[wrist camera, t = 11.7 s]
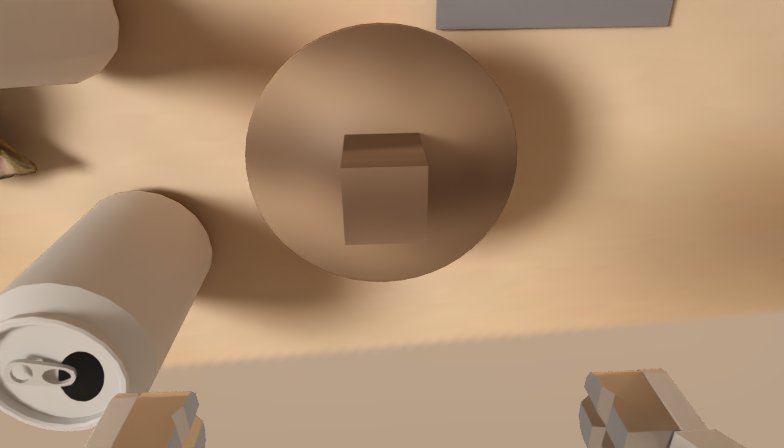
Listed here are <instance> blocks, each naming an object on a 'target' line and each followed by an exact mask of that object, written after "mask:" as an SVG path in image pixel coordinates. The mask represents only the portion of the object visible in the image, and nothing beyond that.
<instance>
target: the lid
mask: <svg viewBox="0 0 784 448" xmlns="http://www.w3.org/2000/svg"><path fill="white" fill-rule="evenodd" d="M245 158H246V171H247V176H248V181H249V185H250V189H251V192H252V195H253V197H254V200H255V203H256V205H257V207H258V209H259V211H260V213H261V215H262V217H263V218H264V220H265V221H266V223H267V224H268V225H269V227H270V228H271V230H272V231H273V232H274V233H275V235H276V236H277V237H278V238H279V239H280V240H281V241H282V242H283V243H284V244H285V245H286V246H287V247H288V248H290V249H291V250H292V251H293V252H294V253H295V254H297V255H298V256H300V257H301V258H303V259H304V260H306V261H307V262H309V263H311V264H313V265H315V266H316V267H318V268H320V269H322V270H325V271H327V272H330V273H333V274H336V275H338V276H342V277H346V278H350V279H355V280H362V281H373V282H388V281H399V280H405V279H410V278H415V277H419V276H422V275H425V274H428V273H431V272H433V271H436V270H438V269H440V268H442V267H445V266H447V265H448V264H450V263H452V262H453V261H455V260H457V259H458V258H460V257H461V256H463V255H464V254H465V253H467V252H468V251H469V250H471V249H472V248H473V247H474V246H475V245H476V244H477V243H478V242H479V241H480V240H481V239H482V238H483V237H484V236H485V235H486V234H487V232H488V231H489V230H490V229H491V227H492V226H493V225H494V223H495V222H496V220H497V219H498V217H499V215H500V214H501V212H502V210H503V208H504V206H505V204H506V202H507V200H508V197H509V195H510V191H511V188H512V185H513V182H514V176H515V170H516V163H517V144H516V134H515V129H514V125H513V121H512V117H511V114H510V111H509V109H508V106H507V104H506V101H505V99H504V97H503V95H502V94H501V92H500V90H499V89H498V87H497V85H496V83H495V82H494V81H493V80H492V78H491V77H490V76H489V75H488V73H487V72H486V71H485V70H484V68H483V67H482V66H481V65H480V64H478V63H477V62H476V61H475V60H474V59H473V58H472V57H471V56H470V55H469V54H468V53H467V52H465V51H464V50H462V49H461V48H460V47H458V46H457V45H455V44H454V43H452V42H451V41H449V40H447V39H445V38H443V37H441V36H439V35H437V34H435V33H432V32H429V31H426V30H423V29H420V28H417V27H412V26H407V25H402V24H393V23H371V24H360V25H355V26H351V27H347V28H342V29H339V30H337V31H334V32H331V33H329V34H326V35H324V36H322V37H320V38H318V39H316V40H314V41H313V42H311V43H309V44H307V45H306V46H304V47H303V48H302V49H300V50H299V51H298V52H297V53H295V54H294V55H293V56H291V57H290V58H289V59H288V60H287V61H286V62H285V63H284V64H283V65H282V66H281V67H280V68H279V70H278V71H277V72H276V73H275V75H274V76H273V78H272V79H271V80H270V82H269V83H268V84H267V86H266V87H265V88H264V90H263V92H262V94H261V96H260V98H259V100H258V101H257V103H256V106H255V108H254V111H253V114H252V117H251V119H250V123H249V128H248V133H247V137H246V152H245Z"/></svg>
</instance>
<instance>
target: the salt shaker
mask: <svg viewBox="0 0 784 448" xmlns="http://www.w3.org/2000/svg"><path fill="white" fill-rule="evenodd" d="M118 37H119V20H118V17H117V14H116V11H115V8H114V3H113V0H0V89H1V88H16V87H30V86H45V85H60V84H75V83H79V82H81V81H83V80H85V79H88V78H90V77H92V76H94V75H96V74H98V73H100V72H101V71H102V70H103V69H104V68H105V66H106V65H107V63H108V62H109V61H110V59H111V58H112V57H113V55H114V54H115V53H116V51H117V50H118Z"/></svg>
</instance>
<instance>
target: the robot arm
mask: <svg viewBox="0 0 784 448" xmlns="http://www.w3.org/2000/svg"><path fill="white" fill-rule="evenodd" d="M584 387H585V389H586V390H587V393H588V396H587V397H586V398H585V399H584V400H583V401H582V402H581V405H580V411H579V420H580V429H581V432H582V436H583V439H584V441H585V443H586V446H587V448H745V447H744V446H742V445H741V444H739V443H737V442H736V441H734V440H732V439H731V438H729V437H727V436H726V435H724V434H723V433H721V432H719V431H717V430H709V429H708V428H707V427H706V425H705V424H704V422H703V421H702V420H701V418H700V417H699V416H698V414H697V413H696V412H695V410H694V409H693V407H692V406H691V405H690V403H689V402H688V401H687V399H686V398H685V397H684V395H683V394H682V392H681V391H680V390H679V388H678V387H677V386H676V384H675V383H674V381H673V380H672V379H671V378H670V376H669V375H668V373H667V372H666V371H664V370H663V369H661V368H660V369H643V370H626V371H608V372H591V373H589V375H588V376H587V378H586V382H585V386H584ZM198 406H199V403H198V400H197V396H196V393H194V392H192V391H187V392H143V393H118V394H116V395H115V396H114V397H113V398H112V399H111V400H110V402H109V403H108V405H107V407H106V409H105V411H104V412H103V414H102V416H101V418H100V420H99V421H98V423H97V425H96V427H95V429H94V430H93V432H92V434H91V436H90V438H89V440H88V441H87V443H86V445H85V447H84V448H205V442H206V438H205V427H204V423H203V420H202V419H200V418H199V417H198V416H197V415H196V412H197V409H198Z"/></svg>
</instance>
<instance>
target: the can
mask: <svg viewBox="0 0 784 448" xmlns="http://www.w3.org/2000/svg"><path fill="white" fill-rule="evenodd" d="M211 262H212V247H211V244H210V240H209V237H208V234H207V232H206V230H205V229H204V227H203V226H202V224H201V223H200V222H199V220H198V219H197V217H196V216H195V215H194V214H192V213H191V212H190V211H189V210H187V209H186V208H185V207H184V206H183V205H181V204H180V203H178V202H176V201H174V200H172V199H169V198H167V197H165V196H163V195H161V194H157V193H151V192H145V191H139V190H137V191H128V192H119V193H116V194H113V195H111V196H109V197H107V198H105V199H103V200H101V201H99V202H98V203H97V204H96V205H95V206H94V207H93V208H92V209H91V210H90V211H89V212H87V213H86V214H85V215H84V216H83V217H82V218H81V219H80V220H79V221H78V222H77V223H76V224H74V225H73V226H72V227H71V228H70V229H69V230H68V231H67V232H66V233H65V234H64V235H63V236H61V237H60V238H59V239H58V240H57V241H56V242H55V243H54V244H53V245H52V246H51V247H50V248H49V249H47V250H46V251H45V252H44V253H43V254H42V255H41V256H40V257H39V258H38V259H37V260H36V261H34V262H33V263H32V264H31V265H30V266H29V267H28V268H27V269H26V270H25V271H24V272H23V273H21V274H20V275H19V276H18V277H17V278H16V279H15V280H14V281H13V282H12V283H11V284H10V285H8V286H7V287H6V288H5V289H4V290H3V291H2V292H1V293H0V410H1V411H3V412H5V413H7V414H8V415H10V416H12V417H14V418H16V419H18V420H19V421H21V422H24V423H27V424H30V425H33V426H36V427H40V428H43V429H49V430H58V431H77V430H86V429H92V428H94V427H96V425H97V423H98V421H99V420H100V418H101V416H102V414H103V412H104V411H105V409H106V407H107V405H108V403H109V402H110V400H111V399H112V398H113V397H114V396H115V395H116V394H118V393H143V392H148V391H149V389H150V387H151V385H152V383H153V381H154V379H155V377H156V375H157V373H158V371H159V369H160V367H161V365H162V363H163V361H164V359H165V357H166V355H167V353H168V351H169V349H170V347H171V345H172V343H173V341H174V339H175V337H176V335H177V333H178V331H179V329H180V327H181V325H182V323H183V321H184V319H185V317H186V315H187V313H188V311H189V309H190V307H191V305H192V303H193V301H194V299H195V297H196V295H197V293H198V291H199V289H200V288H201V286H202V284H203V282H204V280H205V277H206V275H207V273H208V271H209V269H210V267H211Z"/></svg>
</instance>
